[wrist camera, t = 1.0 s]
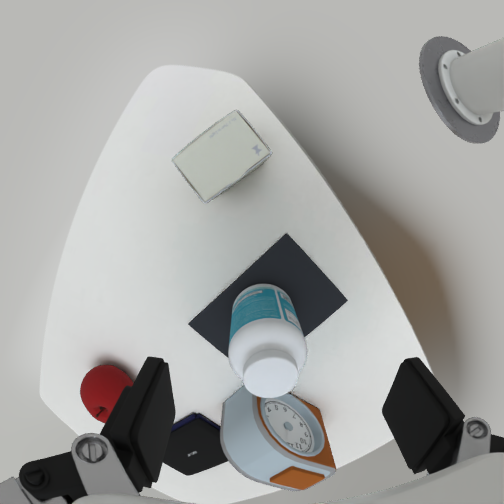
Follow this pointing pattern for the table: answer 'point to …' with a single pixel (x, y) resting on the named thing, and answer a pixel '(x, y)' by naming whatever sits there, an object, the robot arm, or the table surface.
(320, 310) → the mat
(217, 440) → the laptop
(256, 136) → the cosmetic box
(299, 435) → the alarm clock
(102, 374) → the apple
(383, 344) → the table surface
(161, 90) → the table surface
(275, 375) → the pill bottle
